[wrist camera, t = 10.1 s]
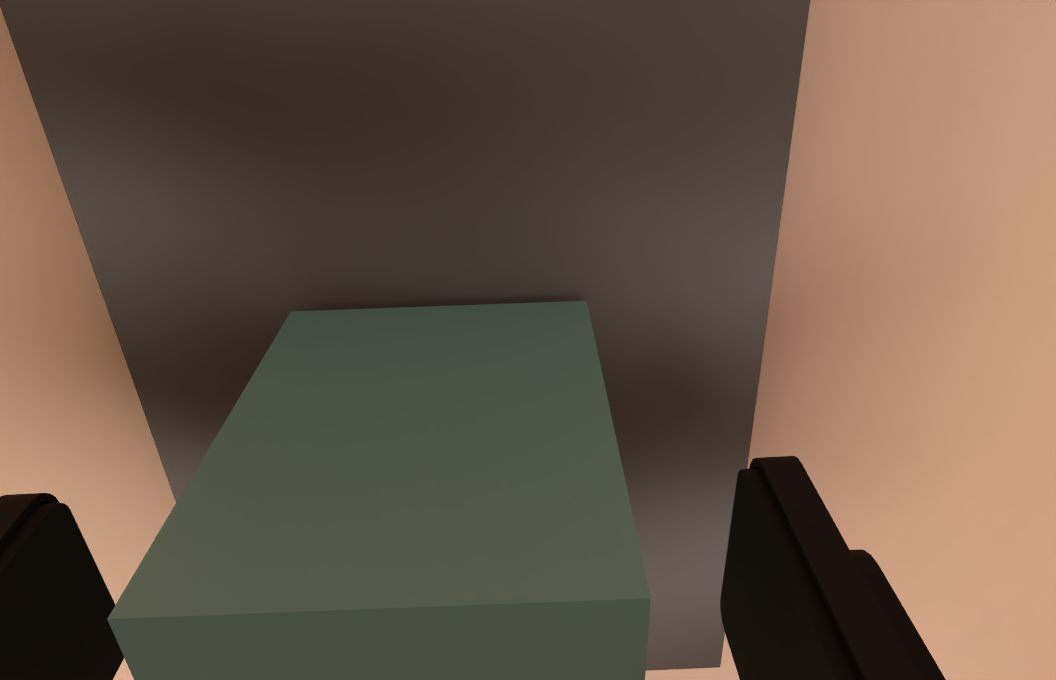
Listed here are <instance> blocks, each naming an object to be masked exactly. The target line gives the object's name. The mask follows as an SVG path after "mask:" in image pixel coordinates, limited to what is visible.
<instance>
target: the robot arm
mask: <svg viewBox="0 0 1056 680" xmlns="http://www.w3.org/2000/svg"><path fill="white" fill-rule="evenodd" d="M114 607H115V603H114V601H113V599H112V597H111V595H110V593H109V591H108V589H107V586H106V584H105V582H104V580H103V578H102V576H101V574H100V572H99V570H98V567H97V565H96V563H95V561H94V559H93V557H92V555H91V553H90V551H89V548H88V546H87V544H86V542H85V540H84V538H83V536H82V534H81V532H80V529H79V527H78V525H77V523H76V521H75V519H74V517H73V515H72V513H71V510H70V509H69V507H68V506H67V505H65V504H64V503H59V501H58V500H57V499H56V497H55V496H53V495H51V494H48V493H37V494H16V495H4V496H1V497H0V680H113V678H114V676H115V674H116V672H117V670H118V668H119V666H120V665H121V663H122V661H123V659H124V656H123V653H122V651H121V649H120V647H119V644H118V642H117V640H116V638H115V635H114V633H113V631H112V629H111V626H110V624H109V622H108V620H107V619H108V617H109V615H110V614H111V612H112V610H113V609H114ZM720 610H721V618H722V623H723V627H724V630H725V633H726V637H727V640H728V643H729V646H730V649H731V653H732V656H733V659H734V662H735V665H736V669H737V672H738V675H739V678H740V680H946V679H945V678H944V676H943V674H942V673H941V671H940V669H939V668H938V666H937V664H936V662H935V661H934V659H933V657H932V656H931V654H930V652H929V650H928V649H927V647H926V645H925V644H924V642H923V640H922V639H921V637H920V635H919V633H918V632H917V630H916V628H915V627H914V625H913V623H912V621H911V620H910V618H909V616H908V615H907V613H906V611H905V609H904V608H903V606H902V604H901V603H900V601H899V599H898V598H897V596H896V594H895V592H894V591H893V589H892V587H891V586H890V584H889V582H888V580H887V579H886V577H885V575H884V574H883V572H882V570H881V569H880V567H879V565H878V564H877V562H876V561H875V560H874V558H873V557H872V556H871V555H870V554H869V553H867V552H866V551H865V550H849V548H848V546H847V545H846V543H845V541H844V539H843V537H842V536H841V534H840V532H839V530H838V528H837V527H836V525H835V523H834V521H833V519H832V517H831V516H830V514H829V512H828V510H827V508H826V507H825V505H824V503H823V501H822V499H821V498H820V496H819V494H818V492H817V490H816V489H815V487H814V485H813V483H812V481H811V480H810V478H809V476H808V474H807V472H806V471H805V469H804V467H803V465H802V463H801V462H800V461H799V459H798V458H797V457H795V456H785V457H765V458H754V459H753V460H752V462H751V465H750V469H741V470H739V472H738V476H737V482H736V489H735V496H734V503H733V511H732V518H731V525H730V532H729V540H728V547H727V554H726V561H725V569H724V576H723V583H722V590H721V598H720Z"/></svg>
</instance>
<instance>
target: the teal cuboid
mask: <svg viewBox="0 0 1056 680" xmlns="http://www.w3.org/2000/svg"><path fill="white" fill-rule="evenodd" d="M650 602H651V597H650V592H649V588H648V583H647V578H646V574H645V569H644V565H643V560H642V555H641V551H640V546H639V541H638V537H637V532H636V527H635V523H634V518H633V514H632V509H631V504H630V500H629V495H628V490H627V486H626V481H625V476H624V472H623V467H622V462H621V458H620V453H619V449H618V444H617V439H616V435H615V430H614V425H613V421H612V416H611V411H610V407H609V402H608V398H607V393H606V388H605V384H604V379H603V374H602V370H601V365H600V360H599V356H598V351H597V347H596V342H595V337H594V333H593V328H592V323H591V319H590V314H589V309H588V305H587V301H566V302H538V303H510V304H483V305H455V306H427V307H400V308H372V309H344V310H317V311H291V312H290V314H289V315H288V317H287V319H286V320H285V322H284V324H283V325H282V327H281V329H280V330H279V332H278V334H277V335H276V337H275V339H274V340H273V342H272V344H271V345H270V347H269V349H268V351H267V352H266V354H265V356H264V357H263V359H262V361H261V362H260V364H259V366H258V367H257V369H256V371H255V372H254V374H253V376H252V377H251V379H250V381H249V382H248V384H247V386H246V387H245V389H244V391H243V392H242V394H241V396H240V397H239V399H238V401H237V402H236V404H235V406H234V407H233V409H232V411H231V413H230V414H229V416H228V418H227V419H226V421H225V423H224V424H223V426H222V428H221V429H220V431H219V433H218V434H217V436H216V438H215V439H214V441H213V443H212V444H211V446H210V448H209V449H208V451H207V453H206V454H205V456H204V458H203V459H202V461H201V463H200V464H199V466H198V468H197V469H196V471H195V473H194V475H193V476H192V478H191V480H190V481H189V483H188V485H187V486H186V488H185V490H184V491H183V493H182V495H181V496H180V498H179V500H178V501H177V503H176V505H175V506H174V508H173V510H172V511H171V513H170V515H169V516H168V518H167V520H166V521H165V523H164V525H163V526H162V528H161V530H160V531H159V533H158V535H157V536H156V538H155V540H154V542H153V543H152V545H151V547H150V548H149V550H148V552H147V553H146V555H145V557H144V558H143V560H142V562H141V563H140V565H139V567H138V568H137V570H136V572H135V573H134V575H133V577H132V578H131V580H130V582H129V583H128V585H127V587H126V588H125V590H124V592H123V593H122V595H121V597H120V598H119V600H118V602H117V604H116V605H115V607H114V609H113V610H112V612H111V614H110V615H109V617H108V619H107V620H108V622H109V624H110V626H111V629H112V631H113V633H114V635H115V638H116V640H117V642H118V644H119V647H120V649H121V651H122V653H123V656H124V658H125V660H126V662H127V664H128V667H129V669H130V671H131V673H132V676H133V678H134V680H645V670H646V656H647V642H648V629H649V615H650Z"/></svg>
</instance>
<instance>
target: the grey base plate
mask: <svg viewBox="0 0 1056 680" xmlns="http://www.w3.org/2000/svg"><path fill="white" fill-rule="evenodd" d="M809 4H810V0H0V7H1V10H2V13H3V16H4V18H5V21H6V24H7V27H8V30H9V32H10V35H11V38H12V41H13V44H14V47H15V49H16V52H17V55H18V58H19V61H20V63H21V66H22V69H23V72H24V75H25V78H26V80H27V83H28V86H29V89H30V92H31V94H32V97H33V100H34V103H35V106H36V109H37V111H38V114H39V117H40V120H41V123H42V125H43V128H44V131H45V134H46V137H47V140H48V142H49V145H50V148H51V151H52V154H53V156H54V159H55V162H56V165H57V168H58V171H59V173H60V176H61V179H62V182H63V185H64V188H65V190H66V193H67V196H68V199H69V202H70V204H71V207H72V210H73V213H74V216H75V219H76V221H77V224H78V227H79V230H80V233H81V235H82V238H83V241H84V244H85V247H86V250H87V252H88V255H89V258H90V261H91V264H92V266H93V269H94V272H95V275H96V278H97V281H98V283H99V286H100V289H101V292H102V295H103V297H104V300H105V303H106V306H107V309H108V312H109V314H110V317H111V320H112V323H113V326H114V328H115V331H116V334H117V337H118V340H119V343H120V345H121V348H122V351H123V354H124V357H125V359H126V362H127V365H128V368H129V371H130V374H131V376H132V379H133V382H134V385H135V388H136V390H137V393H138V396H139V399H140V402H141V405H142V407H143V410H144V413H145V416H146V419H147V421H148V424H149V427H150V430H151V433H152V436H153V438H154V441H155V444H156V447H157V450H158V452H159V455H160V458H161V461H162V464H163V467H164V469H165V472H166V475H167V478H168V481H169V483H170V486H171V489H172V492H173V495H174V498H175V500H176V503H177V501H178V500H179V498H180V496H181V495H182V493H183V491H184V490H185V488H186V486H187V485H188V483H189V481H190V480H191V478H192V476H193V475H194V473H195V471H196V469H197V468H198V466H199V464H200V463H201V461H202V459H203V458H204V456H205V454H206V453H207V451H208V449H209V448H210V446H211V444H212V443H213V441H214V439H215V438H216V436H217V434H218V433H219V431H220V429H221V428H222V426H223V424H224V423H225V421H226V419H227V418H228V416H229V414H230V413H231V411H232V409H233V407H234V406H235V404H236V402H237V401H238V399H239V397H240V396H241V394H242V392H243V391H244V389H245V387H246V386H247V384H248V382H249V381H250V379H251V377H252V376H253V374H254V372H255V371H256V369H257V367H258V366H259V364H260V362H261V361H262V359H263V357H264V356H265V354H266V352H267V351H268V349H269V347H270V345H271V344H272V342H273V340H274V339H275V337H276V335H277V334H278V332H279V330H280V329H281V327H282V325H283V324H284V322H285V320H286V319H287V317H288V315H289V314H290V312H291V311H317V310H344V309H372V308H400V307H427V306H455V305H483V304H510V303H538V302H566V301H587V305H588V309H589V314H590V319H591V323H592V328H593V333H594V337H595V342H596V347H597V351H598V356H599V360H600V365H601V370H602V374H603V379H604V384H605V388H606V393H607V398H608V402H609V407H610V411H611V416H612V421H613V425H614V430H615V435H616V439H617V444H618V449H619V453H620V458H621V462H622V467H623V472H624V476H625V481H626V486H627V490H628V495H629V500H630V504H631V509H632V514H633V518H634V523H635V527H636V532H637V537H638V541H639V546H640V551H641V555H642V560H643V565H644V569H645V574H646V578H647V583H648V588H649V592H650V597H651V602H650V615H649V629H648V642H647V656H646V670H668V669H690V668H712V667H720V664H721V656H722V649H723V641H724V634H725V630H724V627H723V623H722V618H721V610H720V598H721V590H722V583H723V576H724V569H725V561H726V554H727V547H728V540H729V532H730V525H731V518H732V511H733V503H734V496H735V489H736V482H737V476H738V472H739V470H741V469H747V464H748V456H749V449H750V441H751V434H752V427H753V419H754V412H755V404H756V397H757V389H758V382H759V375H760V367H761V360H762V352H763V345H764V338H765V330H766V323H767V315H768V308H769V301H770V293H771V286H772V278H773V271H774V264H775V256H776V249H777V241H778V234H779V226H780V219H781V212H782V204H783V197H784V189H785V182H786V175H787V167H788V160H789V152H790V145H791V138H792V130H793V123H794V115H795V108H796V101H797V93H798V86H799V78H800V71H801V63H802V56H803V49H804V41H805V34H806V26H807V19H808V12H809Z"/></svg>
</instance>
